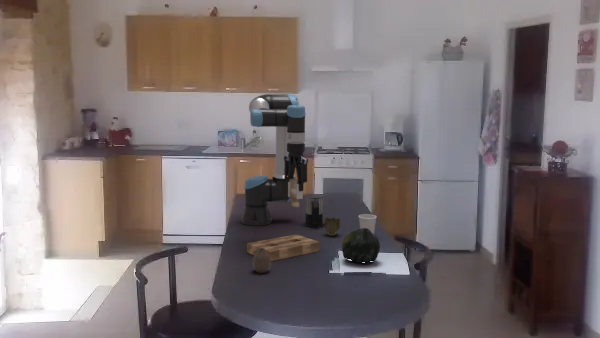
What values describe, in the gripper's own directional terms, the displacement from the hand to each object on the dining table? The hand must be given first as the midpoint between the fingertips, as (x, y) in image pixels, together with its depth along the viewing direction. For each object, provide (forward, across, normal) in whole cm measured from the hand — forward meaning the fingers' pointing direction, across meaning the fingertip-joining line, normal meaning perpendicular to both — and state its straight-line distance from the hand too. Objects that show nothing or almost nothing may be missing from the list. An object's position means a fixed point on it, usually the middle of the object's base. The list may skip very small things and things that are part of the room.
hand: (295, 197), depth 264 cm
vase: (+23, +17, -29) cm, 41 cm away
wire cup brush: (+23, -9, +29) cm, 38 cm away
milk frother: (+23, -27, +38) cm, 52 cm away
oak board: (+23, 0, -6) cm, 23 cm away
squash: (+23, +30, +10) cm, 39 cm away
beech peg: (+4, 0, 0) cm, 4 cm away
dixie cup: (+23, +3, +40) cm, 46 cm away
